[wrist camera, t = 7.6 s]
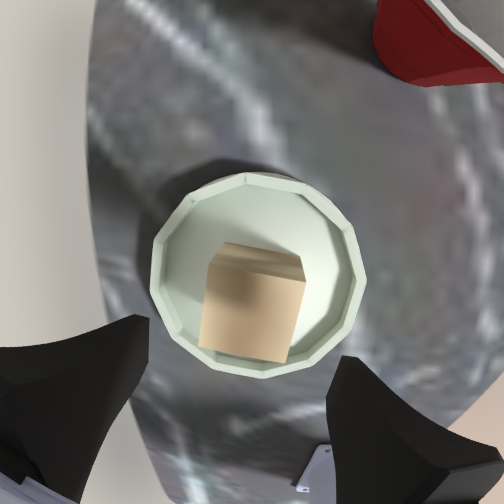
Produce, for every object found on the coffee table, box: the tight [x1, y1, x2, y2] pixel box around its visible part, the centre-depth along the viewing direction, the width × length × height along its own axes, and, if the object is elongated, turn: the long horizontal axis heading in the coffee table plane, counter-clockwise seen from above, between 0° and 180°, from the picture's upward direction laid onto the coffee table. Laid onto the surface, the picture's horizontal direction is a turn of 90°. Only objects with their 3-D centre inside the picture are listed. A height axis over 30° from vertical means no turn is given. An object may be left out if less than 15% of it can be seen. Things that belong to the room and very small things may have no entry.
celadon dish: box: [150, 172, 367, 379], centre depth 19 cm, size 13×13×2 cm
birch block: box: [198, 242, 307, 363], centre depth 17 cm, size 4×4×4 cm
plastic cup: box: [373, 0, 504, 87], centre depth 10 cm, size 11×11×12 cm
